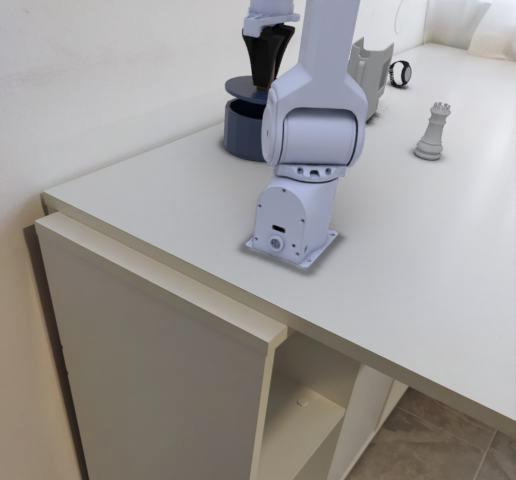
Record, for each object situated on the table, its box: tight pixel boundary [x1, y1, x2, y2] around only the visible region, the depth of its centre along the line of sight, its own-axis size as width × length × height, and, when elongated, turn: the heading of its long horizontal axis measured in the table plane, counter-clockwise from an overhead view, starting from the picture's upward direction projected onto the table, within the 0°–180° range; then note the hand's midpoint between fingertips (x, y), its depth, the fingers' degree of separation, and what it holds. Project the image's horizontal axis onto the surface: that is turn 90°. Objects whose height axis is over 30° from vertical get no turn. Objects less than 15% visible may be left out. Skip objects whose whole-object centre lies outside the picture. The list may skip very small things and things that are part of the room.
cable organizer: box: [346, 36, 395, 122], centre depth 96 cm, size 7×12×12 cm, turn 157°
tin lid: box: [224, 58, 278, 105], centre depth 77 cm, size 12×12×5 cm
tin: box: [222, 97, 266, 162], centre depth 82 cm, size 11×11×6 cm
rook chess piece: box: [413, 101, 452, 161], centre depth 85 cm, size 4×4×8 cm
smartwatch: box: [388, 60, 413, 88], centre depth 115 cm, size 4×5×5 cm
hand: (264, 83), depth 78 cm, fingers closed on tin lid, 2 cm apart
